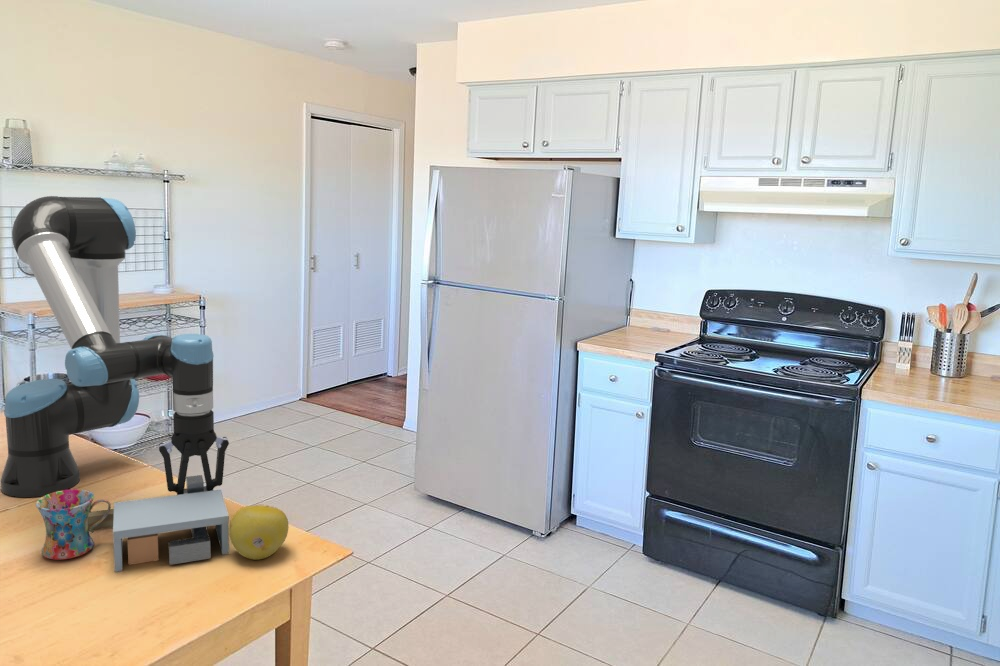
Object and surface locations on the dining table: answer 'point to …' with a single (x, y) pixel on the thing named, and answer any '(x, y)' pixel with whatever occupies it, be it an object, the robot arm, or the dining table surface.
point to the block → (142, 548)
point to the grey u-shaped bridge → (169, 518)
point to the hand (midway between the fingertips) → (195, 519)
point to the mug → (68, 522)
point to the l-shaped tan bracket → (97, 515)
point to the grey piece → (200, 542)
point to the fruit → (258, 530)
